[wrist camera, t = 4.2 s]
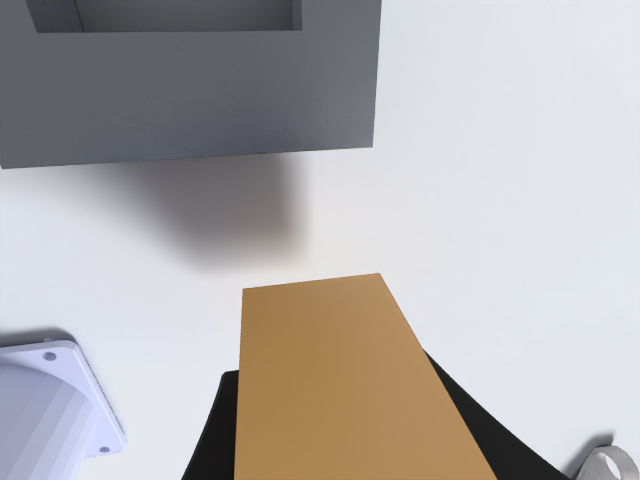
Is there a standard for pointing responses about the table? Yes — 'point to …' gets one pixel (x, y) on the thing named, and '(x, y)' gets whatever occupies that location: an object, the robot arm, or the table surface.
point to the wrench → (595, 470)
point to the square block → (342, 390)
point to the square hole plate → (184, 86)
